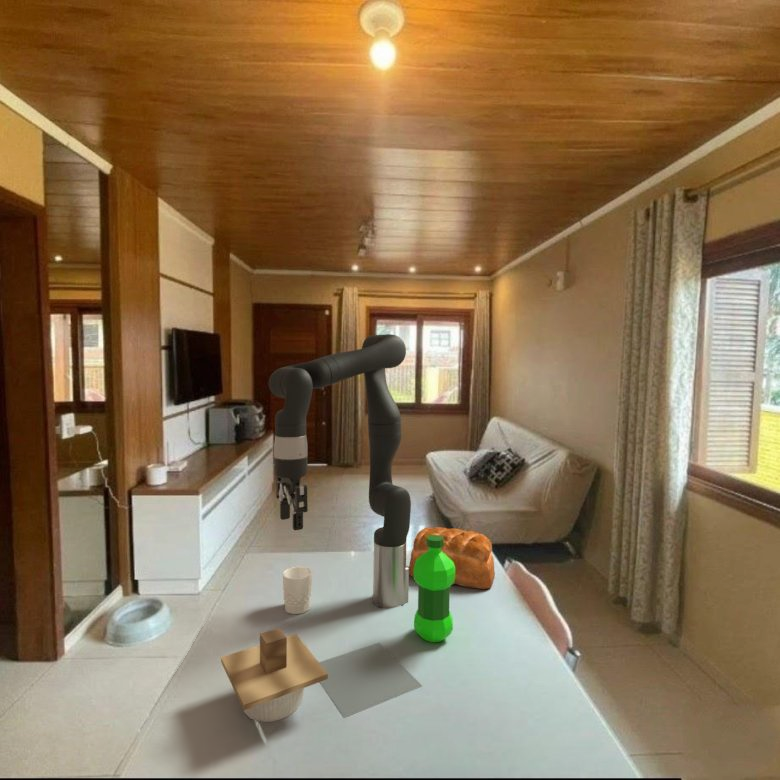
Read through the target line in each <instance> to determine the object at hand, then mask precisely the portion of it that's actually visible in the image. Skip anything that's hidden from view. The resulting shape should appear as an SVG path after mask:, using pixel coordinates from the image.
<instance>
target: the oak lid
mask: <svg viewBox="0 0 780 780" xmlns="http://www.w3.org/2000/svg"><path fill="white" fill-rule="evenodd" d="M220 662H221V665H222V667H223V669H224V671H225V674H226V676H227V678H228V680H229V682H230V684H231V686H232V688H233V691H234V693H235V695H236V697H237V699H238V701H239V703H240V705H241V708H242V710H243V711H244V710H247V709H249V708H252V707H255V706H257V705H260V704H263V703H265V702H268V701H271V700H273V699H276V698H279V697H281V696H284V695H286V694H289V693H292V692H294V691H297V690H300V689H302V688H304V689H305V688H307V687H309V686H313V685H315V684H319V683H320V682H321V681H324V680H326V679H328V673H327V672H326V671H325V669H324V668H323V667H322V666H321V664H320V663H319V662H320V661H319V660H318V659H317V658H316V656H314V654H313V653H312V652H311V650H310V649H309V648H308V647H307V646H306V644H305V643H304V641H302V639H301V638H300V637H299V635H298V634H297V633H295V634H292V635H288V636H286V635H285V633H284V631H283V630H282V629H281V627H277V628H274V629H271V630H267V631H264V632H261V633H259V644H258V645H256V646H253V647H248V648H246V649H243V650H240V651H237V652H234V653H233V652H232V653H230V654H226V655H223V656H221V657H220Z"/></svg>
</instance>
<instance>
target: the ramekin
mask: <svg viewBox="0 0 780 780" xmlns="http://www.w3.org/2000/svg"><path fill="white" fill-rule="evenodd" d="M304 692H305V688H302V689H300V690H297V691H294V692H292V693H289V694H286V695H284V696H281V697H279V698H276V699H273V700H271V701H268V702H265V703H263V704H260V705H257V706H255V707H252V708H249V709H247V710H243V712H244V714H245V715H246V716H247V717H248V718H249V719H251V720H252V719H253V721H254V720H255V722H256V723H257V722H258V723H260V722H263V723H268V722H271V723H272V722H276V721H279V720H283V719H286V718H287V717H289V716H291V715H292V714H293V713H294V712H296V711H297V709H298V708H299V707H300V705H301V703H302V701H303V698H304Z"/></svg>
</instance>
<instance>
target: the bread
mask: <svg viewBox="0 0 780 780" xmlns="http://www.w3.org/2000/svg"><path fill="white" fill-rule="evenodd" d="M429 535H440V536H442V537H444V540H443V547H441V551H442V552H443V553H444V554H445V555H447V556H448V557H449V558H450V559H451V560H452V561H453V562H454V565H455V580H454V583H453V584H452V585H458V586H461V587H467V588H472V589H473V588H474V589H481V590H485V589H490V588H492V586H493V584H494V579H495V577H496V576H495V575H496V571H495V560H494V555H493V553H492V550H493V545H492V542H491V540H490V539H489V538H488V537H487V536H486V535H485V534H483V533H479V532H478V531H475V530H463V529H460V528H447V527H440V526H437V527H430V526H428V527H424V528H423V529H420V531H419V532H418V533H417V534H416V535H415V538H414V540H413V547H412V550H411V552H410V560H409V567H408V568H409V575H410V577H412V578H413V579H414V575H413V574H414V564H415V562H416V559H418V558H419V557H420V556H421V555H423V554H424V553H425V552H427V551H428V550H429V547H428V546H426V543H427V536H429Z"/></svg>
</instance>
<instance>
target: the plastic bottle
mask: <svg viewBox="0 0 780 780" xmlns="http://www.w3.org/2000/svg"><path fill="white" fill-rule="evenodd" d="M443 540H444V537H442V536H440V535H429V536H427V543H426V546H428V547H429V550H428V551H427V552H425V553H424V554H423V555H421V556H420V557H419V558H418V559H416V562H415V564H414V574H413V575H414V578H413V580H414V582H415V583H417V585H418V588H417V589H418V590H417V591H418V592H417V593H418V594H417V597H418V598H417V610H416V612H415V614H414V617H413V618H414V620H413V628H414V631H415V632H416V634H418V636H419V637H421V638H422V639H423V640H425V641H427V642H430V643H441V642H443V641H444V640H445V639H446V638H448V637H449V636H450V635H451V634H452V632H453V626H454V625H453V616H452V613H451V611H450V590H451V589H450V588H451V586H452V585H454V584H453V583H454V580H455V565H454V562H453V561H452V560H451V559H450V558H449V557H448V556H447V555H445V554H444V553H443V552H442V551H441V547H443Z"/></svg>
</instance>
